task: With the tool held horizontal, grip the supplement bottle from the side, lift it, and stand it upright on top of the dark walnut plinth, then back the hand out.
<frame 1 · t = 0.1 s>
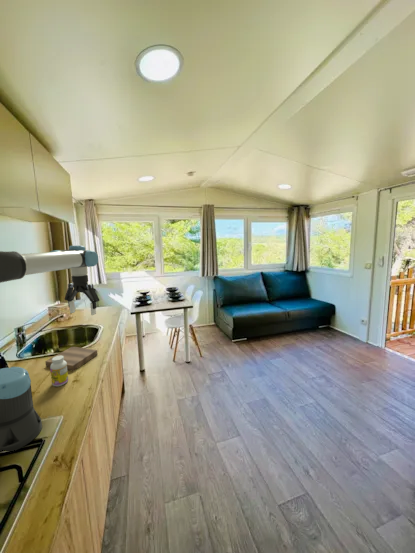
hand: (83, 313, 128), 28 cm above the worktop, tool pointing down, fingers open, 13 cm apart
walnut plinth: (73, 360, 134), on the worktop
supplement bottle: (60, 383, 113), on the worktop
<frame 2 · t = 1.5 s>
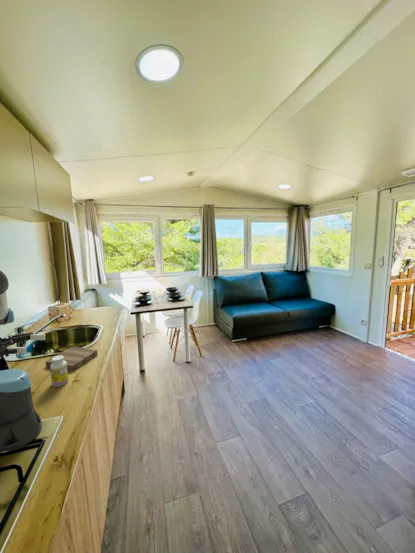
hand: (35, 343, 109), 20 cm above the worktop, tool horizontal, fingers open, 13 cm apart
nothing on the worktop moved.
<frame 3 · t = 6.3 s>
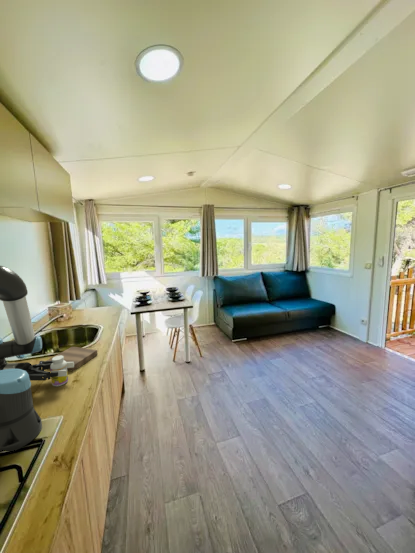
hand: (70, 368, 112), 7 cm above the worktop, tool horizontal, fingers closed on supplement bottle, 7 cm apart
supplement bottle: (60, 383, 113), on the worktop, touching gripper
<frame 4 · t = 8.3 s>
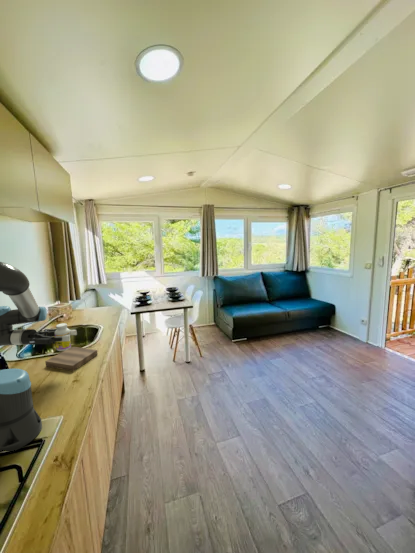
hand: (72, 335, 121), 19 cm above the worktop, tool horizontal, fingers closed on supplement bottle, 7 cm apart
supplement bottle: (63, 348, 122), point 12 cm above the worktop, touching gripper
when the fingers open (11 cm above the worktop, at t = 10.6 s): supplement bottle stays where it is, resting on walnut plinth.
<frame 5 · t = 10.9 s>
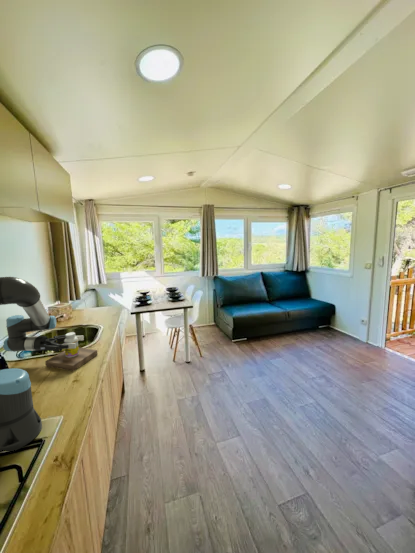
hand: (79, 341, 132), 11 cm above the worktop, tool horizontal, fingers open, 9 cm apart
supplement bottle: (72, 355, 133), point 3 cm above the worktop, touching walnut plinth
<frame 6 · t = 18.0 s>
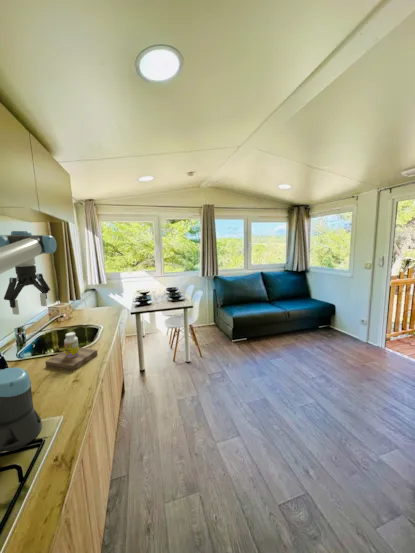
hand: (30, 309, 112), 35 cm above the worktop, tool pointing down, fingers open, 13 cm apart
nothing on the worktop moved.
at the end: supplement bottle inside the target area on the walnut plinth (0.1 cm from its centre), point 2.8 cm above the walnut plinth's base; supplement bottle tilted 0°; the gripper is holding nothing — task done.
